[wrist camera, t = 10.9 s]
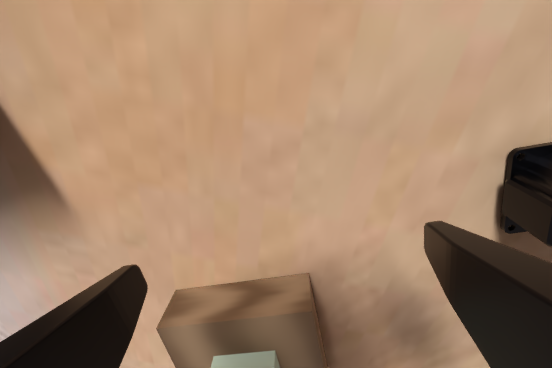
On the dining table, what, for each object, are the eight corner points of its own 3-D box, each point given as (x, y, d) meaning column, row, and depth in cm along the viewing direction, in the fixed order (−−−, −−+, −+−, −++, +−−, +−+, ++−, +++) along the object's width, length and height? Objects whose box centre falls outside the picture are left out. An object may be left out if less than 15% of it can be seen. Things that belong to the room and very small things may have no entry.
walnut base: (308, 273, 24) (312, 311, 20) (327, 367, 28) (332, 412, 25) (175, 290, 25) (156, 328, 22) (213, 377, 30) (202, 421, 26)
